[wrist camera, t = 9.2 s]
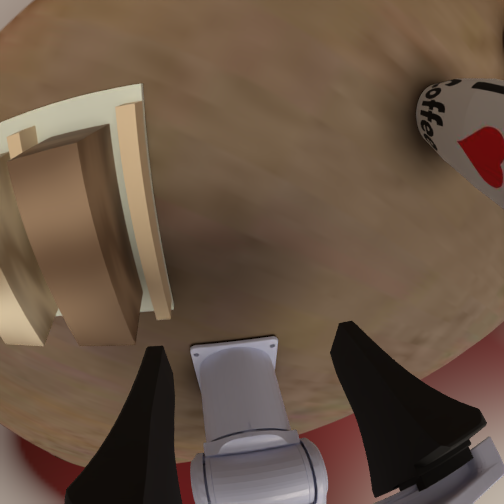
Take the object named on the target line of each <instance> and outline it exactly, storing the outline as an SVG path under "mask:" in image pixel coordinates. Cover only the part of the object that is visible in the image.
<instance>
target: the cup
mask: <svg viewBox="0 0 504 504" xmlns="http://www.w3.org/2000/svg"><path fill="white" fill-rule="evenodd" d="M416 120H417V126H418V129H419V131H420V134H421V135H422V137H423V138H424V139H425V140H426V141H427V143H428V144H429V145H430V146H431V147H432V148H433V149H434V150H435V151H436V152H437V153H438V154H439V155H440V156H441V158H442V159H443V160H444V161H446V162H447V163H448V164H449V165H450V166H452V167H453V168H454V169H455V170H456V171H458V172H459V173H460V174H461V175H462V176H463V177H464V178H466V179H467V180H468V181H469V182H470V183H471V184H472V185H473V186H474V187H476V188H477V189H478V190H480V191H481V192H482V193H484V194H485V195H486V196H488V197H489V198H490V199H491V200H493V201H494V202H495V203H497V204H498V205H499V206H500V207H501V208H503V209H504V81H503V80H498V79H453V80H449V81H445V82H441V83H437V84H433V85H430V86H429V87H427V88H426V89H425V90H424V91H423V92H422V94H421V96H420V98H419V100H418V103H417V109H416Z"/></svg>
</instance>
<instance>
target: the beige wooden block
mask: <svg viewBox="0 0 504 504" xmlns="http://www.w3.org/2000/svg"><path fill="white" fill-rule="evenodd" d="M9 160H11V159H10V154H9V151H8V152H5V153H2V154H0V336H1V338H2V339H3V340H4V342H5V343H6V344H14V345H32V346H44V345H45V342H46V340H47V337H48V334H49V331H50V329H51V326H52V323H53V321H54V318H55V316H56V313H57V311H58V306H57V304H56V302H55V300H54V298H53V296H52V294H51V292H50V289H49V287H48V285H47V283H46V281H45V278H44V276H43V274H42V272H41V269H40V267H39V264H38V262H37V260H36V257H35V255H34V252H33V249H32V247H31V244H30V241H29V239H28V236H27V233H26V230H25V227H24V224H23V221H22V218H21V215H20V212H19V209H18V205H17V202H16V198H15V195H14V191H13V187H12V184H11V180H10V175H9V171H8V167H7V161H9Z"/></svg>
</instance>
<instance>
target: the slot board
mask: <svg viewBox="0 0 504 504" xmlns="http://www.w3.org/2000/svg"><path fill="white" fill-rule="evenodd" d="M104 124H110V132H111V140H112V148H113V155H114V162H115V168H116V175H117V181H118V186H119V192H120V197H121V202H122V208H123V212H124V217H125V222H126V227H127V231H128V236H129V240H130V244H131V248H132V252H133V256H134V260H135V264H136V268H137V272H138V275H139V279H140V283H141V286H142V290H143V295H142V302H141V308H140V312H147V311H154V312H155V315H156V318H157V320H165V319H171V310H173V309H174V302H173V297H172V293H171V288H170V283H169V279H168V274H167V269H166V264H165V259H164V253H163V248H162V242H161V237H160V231H159V225H158V219H157V213H156V206H155V199H154V192H153V185H152V178H151V170H150V161H149V152H148V143H147V133H146V121H145V108H144V93H143V84H135V85H129V86H124V87H118V88H113V89H108V90H104V91H99V92H95V93H90V94H86V95H82V96H78V97H75V98H71V99H67V100H64V101H60V102H57V103H53V104H50V105H47V106H44V107H41V108H38V109H35V110H32V111H29V112H26V113H24V114H21V115H18V116H16V117H13V118H11V119H8V120H6V121H3V122H1V123H0V154H2V153H5V152H8V151H9V154H10V159H12V158H14V157H16V156H17V155H19V154H21V153H22V152H24V151H26V150H28V149H29V148H31V147H33V146H35V145H37V144H38V143H40V142H42V141H44V140H46V139H48V138H50V137H53V136H57V135H60V134H64V133H68V132H72V131H77V130H81V129H85V128H90V127H95V126H99V125H104ZM56 316H62V314H61V312H60V310H59V308H58V311H57V313H56Z"/></svg>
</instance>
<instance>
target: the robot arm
mask: <svg viewBox="0 0 504 504" xmlns="http://www.w3.org/2000/svg"><path fill="white" fill-rule="evenodd" d="M277 347H278V339H277V337H275V336H271V337H264V338H257V339H249V340H241V341H232V342H223V343H214V344H203V345H194V346H192V347H191V348H190V353H191V357H192V361H193V364H194V368H195V372H196V376H197V380H198V383H199V387H200V390H201V395H202V405H203V415H204V425H205V434H206V442H207V443H203V445H204V453H205V454H204V453H198V454H196V456H195V458H194V459H193V460H192V461H191V484H192V491H193V496H194V500H195V504H326V494H327V491H328V478H327V472H326V468H325V464H324V461H323V458H322V456H321V453H320V451H319V449H318V448H317V446H316V445H315V444H314V443H312V442H311V441H309V440H308V439H307V438H301V439H299V436H298V433H297V430H291V428H290V424H289V421H288V417H287V414H286V410H285V406H284V403H283V399H282V396H281V392H280V389H279V385H278V381H277V378H276V374H275V364H276V356H277ZM330 354H331V357H332V361H333V364H334V368H335V371H336V374H337V376H338V378H339V381H340V383H341V385H342V387H343V390H344V392H345V394H346V396H347V398H348V401H349V403H350V405H351V407H352V410H353V412H354V414H355V417H356V419H357V422H358V426H359V429H360V432H361V436H362V439H363V443H364V447H365V451H366V455H367V460H368V465H369V471H370V477H371V484H372V491H373V494H374V497H375V498H376V497H379V496H381V495H383V494H386V493H388V492H390V491H392V490H394V489H397V488H399V489H400V492H399V493H396V494H394V495H392V496H390V497H388V498H385V499H383V500H381V501H378V502H376V503H374V504H473V503H475V502H476V500H478V499H479V498H480V496H482V495H483V494H484V493H485V492H486V491H487V490H488V489H489V488H490V487H491V486H492V485H493V484H495V483H496V482H497V481H498V480H499V479H500V478H501V477H502V476H503V475H504V464H503V462H502V460H501V457H500V455H499V453H498V451H497V449H496V447H495V445H494V443H493V441H492V439H491V437H487V438H486V439H485V440H483V441H482V442H481V443H479V444H478V445H477V446H475V447H474V448H472V449H471V450H470V449H469V447H468V446H470V445H471V442H470V440H469V439H470V438H471V437H472V436H473V435H475V434H476V433H477V432H478V431H480V430H481V429H482V428H483V427H485V426H486V424H487V422H486V420H485V418H484V417H483V415H482V413H481V411H480V410H479V409H478V408H475V407H472V406H469V405H467V404H464V403H461V402H459V401H457V400H454V399H452V398H450V397H448V396H446V395H444V394H442V393H441V392H439V391H437V390H435V389H433V388H432V387H430V386H428V385H427V384H425V383H424V382H422V381H421V380H419V379H418V378H416V377H415V376H414V375H412V374H411V373H409V372H408V371H407V370H406V369H404V368H403V367H402V366H401V365H399V364H398V363H397V362H396V361H395V360H393V359H392V358H391V357H390V356H389V355H388V354H387V353H386V352H385V351H383V350H382V349H381V348H380V347H379V346H378V345H377V344H376V343H375V342H374V341H373V340H372V339H371V338H370V337H369V336H367V335H366V334H365V333H364V332H363V331H362V330H361V329H360V328H359V327H358V326H357V325H356V324H355V323H354V322H353V321H348V322H343V323H339V326H338V329H337V332H336V336H335V339H334V342H333V345H332V348H331V351H330ZM174 409H175V392H174V379H173V372H172V370H171V367H170V364H169V361H168V358H167V356H166V353H165V350H164V347H163V346H150V347H147V348H146V351H145V354H144V357H143V360H142V363H141V366H140V369H139V371H138V374H137V377H136V379H135V381H134V384H133V386H132V389H131V391H130V393H129V396H128V398H127V400H126V402H125V404H124V406H123V408H122V410H121V413H120V415H119V416H118V418H117V420H116V422H115V424H114V426H113V427H112V429H111V431H110V433H109V434H108V436H107V438H106V439H105V441H104V442H103V444H102V445H101V447H100V449H99V450H98V451H97V453H96V454H95V456H94V457H93V458H92V460H91V461H90V462H89V464H88V465H87V466H86V467H85V469H84V470H83V471H82V472H81V474H80V475H79V476H78V477H77V478H76V479H75V480H74V482H72V484H71V485H70V486H69V487H68V488H67V489H66V495H65V504H182V500H181V494H180V489H179V483H178V476H177V470H176V462H175V453H174Z"/></svg>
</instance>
